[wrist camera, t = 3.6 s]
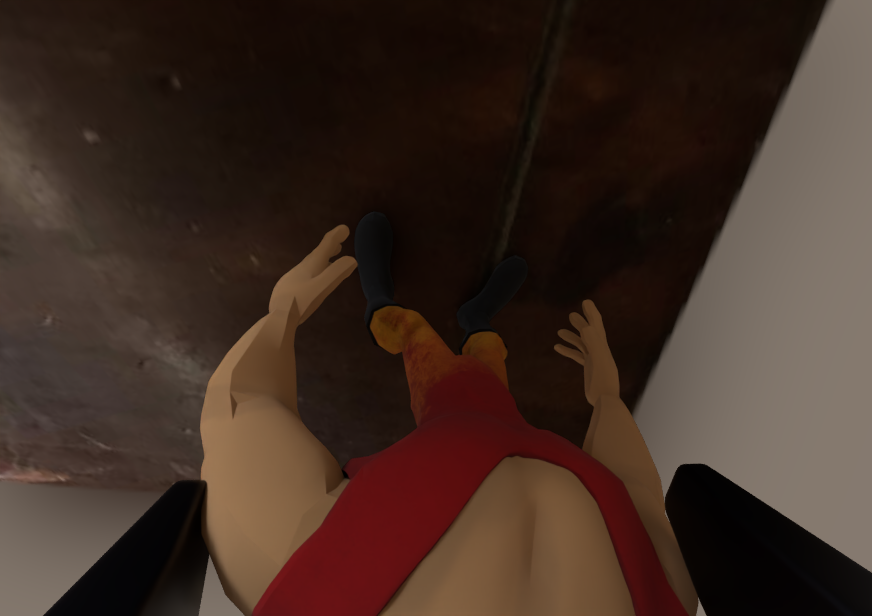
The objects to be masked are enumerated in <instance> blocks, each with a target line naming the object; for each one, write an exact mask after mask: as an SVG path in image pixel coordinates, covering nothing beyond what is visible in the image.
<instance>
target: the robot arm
mask: <svg viewBox="0 0 872 616" xmlns="http://www.w3.org/2000/svg"><path fill="white" fill-rule="evenodd" d="M205 489H206V481H205V480H181V481H178V482H176V483H175V484H174V485H172V486H171V487H170V488H169V489H168V490H167V491H166V492H165V493H164V494H163V495H162V496H161V497H160V499H159V500H158V501H157V502H156V503H155V504H154V505H153V506H152V507H151V508H150V509H149V510H148V511H147V512H146V513H145V514H144V515H143V516H142V517H141V518H140V519H139V520H138V521H137V522H136V523H135V524H134V525H133V526H132V527H131V528H130V529H129V530H128V531H127V532H126V533H125V534H124V535H123V536H122V537H121V538H120V539H119V540H118V541H117V542H116V543H115V544H114V545H113V546H112V547H111V548H110V549H109V550H108V551H107V552H106V553H105V554H104V555H103V556H102V557H101V558H100V559H99V560H98V561H97V562H96V563H95V564H94V565H93V566H92V567H91V568H90V569H89V570H88V571H87V572H86V573H85V574H84V575H83V576H82V577H81V578H80V579H79V580H78V581H77V582H76V583H75V584H74V585H73V586H72V587H71V588H70V589H69V590H68V591H67V592H66V593H65V594H64V595H63V596H62V597H61V598H60V599H59V600H58V601H57V602H56V603H55V604H54V605H53V606H52V607H51V608H50V609H49V610H48V611H47V612H46V613H45V614H44V615H43V616H198V615H199V609H200V604H201V598H202V592H203V587H204V581H205V575H206V570H207V564H208V559H209V552H208V549H207V547H206V544H205V542H204V539H203V537H202V534H201V507H202V503H203V498H204V493H205ZM665 510H666V513H667V516H668V518H669V521H670V524H671V527H672V529H673V532H674V535H675V537H676V540H677V543H678V545H679V548H680V551H681V553H682V556H683V559H684V561H685V564H686V567H687V569H688V572H689V575H690V577H691V580H692V583H693V585H694V588H695V590H696V593H697V595H698V598H699V600H700V602H701V605H702V607H703V609H704V611H705V613H706V615H707V616H872V573H871V572H870V571H868V570H867V569H865V568H864V567H862V566H861V565H859V564H857V563H856V562H854V561H853V560H851V559H850V558H848V557H847V556H845V555H844V554H842V553H841V552H839V551H838V550H836V549H835V548H833V547H831V546H830V545H828V544H827V543H825V542H824V541H822V540H821V539H819V538H817V537H816V536H815V535H813V534H811V533H810V532H808V531H807V530H805V529H804V528H802V527H801V526H799V525H798V524H796V523H795V522H793V521H792V520H790V519H789V518H787V517H785V516H784V515H782V514H781V513H779V512H778V511H776V510H775V509H773V508H772V507H770V506H769V505H767V504H766V503H764V502H762V501H761V500H759V499H758V498H756V497H755V496H753V495H752V494H750V493H749V492H747V491H746V490H744V489H742V488H741V487H739V486H738V485H736V484H735V483H733V482H732V481H730V480H729V479H727V478H726V477H724V476H723V475H721V474H719V473H718V472H717V471H715V470H713V469H712V468H710V467H709V466H707V465H705V464H683V465H680V466H679V467H678V468H677V470H676V472H675V475H674V477H673V479H672V482H671V484H670V487H669V489H668V492H667V494H666V497H665Z"/></svg>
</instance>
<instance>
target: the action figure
mask: <svg viewBox="0 0 872 616" xmlns="http://www.w3.org/2000/svg"><path fill="white" fill-rule="evenodd" d="M349 234H350V233H349V228H348V227H347V226H345V225H339V226H337V227H336V228H334V229H333V230H331V231H330V232H328V233H326V234H325V236H324V238H323V240H322V241H321V243H320V244H319V246H318V247H317V248H315V249H314V250H313V251H312V252H311V254H309V255H308V256H306V257H305V258H304V259H303V261H302V262H301V263H299V264H298V265H297V266H296V267H294V268H293V269H292V270H290V271H289V272H288V273H286V274H285V275H284V276H283V277H282V278H281V279H280V280H279V281H278V282H277V284H276V286H275V288H274V289H273V292H272V296H271V300H270V303H269V314H268V315H266V316H265V317H263V318H262V319H260V320H259V321H258V322H257V323H256V324H255V325H254V326H252V327H251V328H250V329H249V330H248V331H247V332H246V333H245V334H244V335H243V336H242V337H241V338H240V340H239V341H238V342H237V343H236V344H235V345H234V346H233V347H232V348H231V349H230V351H229V352H228V353H227V354H226V356H225V357H224V359H223V360H222V362H221V363H220V365H219V366H218V368H217V369H216V371H215V372H214V374H213V375H212V377H211V378H210V380H209V382H208V387H207V391H206V396H205V400H204V405H203V410H202V414H201V424H200V431H201V437H202V443H203V449H204V455H205V458H204V461H203V464H202V467H201V480H205V481H206V489H205V493H204V498H203V503H202V507H201V534H202V537H203V539H204V542H205V544H206V547H207V549H208V552H209V554H210V557H211V559H212V562H213V564H214V567H215V569H216V572H217V574H218V577H219V579H220V582H221V584H222V587H223V590H224V592H225V595H226V596H227V597H228V598H229V599H230V600H231V601H232V602H233V603H234V604H235V606H236V607H237V608H238V609H239V610H240V611H241V612H242V613H243V614H244V615H245V616H696V613H697V607H698V595H697V593H696V590H695V588H694V585H693V583H692V580H691V577H690V575H689V572H688V569H687V567H686V564H685V561H684V559H683V556H682V553H681V551H680V548H679V545H678V543H677V540H676V537H675V535H674V532H673V529H672V527H671V524H670V522H669V521H668V519H667V517H666V515H665V503H664V497H663V491H662V486H661V480H660V477H659V474H658V472H657V469H656V467H655V464H654V462H653V460H652V458H651V455H650V453H649V451H648V448H647V446H646V444H645V441H644V439H643V437H642V435H641V433H640V431H639V429H638V427H637V425H636V423H635V421H634V419H633V417H632V416H631V414H630V412H629V410H628V409H627V407H626V405H625V404H624V403H623V402H622V400H621V399H620V398H619V378H618V370H617V367H616V364H615V362H614V360H613V357H612V355H611V352H610V349H609V347H608V344H607V341H606V333H605V330H604V327H603V323H602V317H601V315H600V313H599V312H598V310H597V309H596V307H595V305H594V303H593V302H592V301H591V300H589V299H588V300H584V301H583V303H582V308H583V312H584V314H585V316H586V317H587V320H588V322H589V324H588V323H587V322H586V321H585V320H584V318H583V317H582V316H581V315H579V314H578V313H571V314H570V315H569V320H570V322H571V324H572V325H573V326H574V327H575V328H576V329H577V330H578V331H580V335H581V338H580V337H579V336H577V335H576V334H574V333H573V332H571V331H569V330H566V329H561V330H559V331H558V335H559V336H560V337H561V338H563V339H564V340H565V341H567V342H569V343H571V344H573V345H575V346H577V347H578V348H579V349H580V350H581V351H582V353H583V354H582V353H581V352H579V351H577V350H574V349H571V348H568V347H565V346H563V345H561V344H556V345H555V346H554V349H555V350H556V351H557V352H559V353H560V354H562V355H564V356H567V357H570V358H572V359H574V360H575V361H577V362H578V363H580V364H582V365H583V366H584V379H585V395H586V398H587V400H588V402H589V403H590V404H591V405H593V406H594V410H593V414H592V418H591V422H590V425H589V428H588V432H587V435H586V438H585V441H584V444H583V448H582V449H580V448H579V447H577V446H576V445H574V444H573V443H571V442H570V441H568V440H567V439H565V438H563V437H561V436H559V435H557V434H555V433H553V432H551V431H549V430H542V429H537V428H535V427H533V426H531V425H530V424H528V423H527V422H526V421H525V419H524V418H523V417H522V415H521V414H520V413H519V411H518V409H517V406H516V403H515V400H514V398H513V397H512V395H511V394H510V392H509V387H508V380H507V374H506V367H505V363H504V360H505V358H506V356H507V350H506V349H507V346H506V344H505V342H504V341H503V339H502V338H501V336H500V335H499V333H498V332H497V331H496V330H495V329H494V328H492V327H491V326H490V324H489V321H490V320H491V319H492V317H493V316H494V315H495V314H496V313H498V312H499V311H500V310H501V309H502V308H503V307H504V306H505V305H506V304H507V303H508V302H509V301H510V300H511V299H512V297H513V296H514V295H515V294H516V292H517V291H518V290H519V288H520V287H521V285H522V284H523V283H524V281H525V279H526V277H527V273H528V266H527V263H526V261H525V260H524V258H521V257H518V256H516V255H514V256H512V257H509V258H507V259H505V260H504V261H502V262H501V263H500V264H498V265H497V267H496V268H495V270H494V271H493V273H492V275H491V277H490V279H489V281H488V283H487V284H486V286H485V287H484V289H483V290H482V291H481V293H480V294H479V295H477V296H476V297H475V298H474V299H472V300H470V301H468V302H466V303H465V304H464V305H462V306H461V307H460V309H459V310H458V312H457V319H458V322H459V325H460V327H461V328H463V329H465V330H466V334H465V337H464V339H463V341H462V343H461V345H460V348H459V353H460V355H456V356H455V354H454V353H453V352H452V351H451V350H450V349H449V348H448V347H447V345H446V344H445V343H444V341H443V340H442V339H441V338H440V336H439V335H438V334H437V333H436V332H435V330H434V329H433V328H432V327H431V326H430V325H429V323H428V322H427V321H426V320H425V319H424V318H423V317H422V316H421V315H420V314H419V313H418V312H416V311H413V310H409V309H407V308H405V307H403V306H401V305H400V304H398V303H396V302H394V301H393V297H394V290H395V289H394V282H393V280H392V277H391V273H390V258H391V252H392V247H393V232H392V229H391V225H390V223H389V221H388V219H387V218H386V216H385V214H382V213H378V212H374V211H373V212H371V213H369V214H367V215H365V216H364V217H363V219H362V220H361V221H360V222H359V224H358V226H357V229H356V231H355V240H354V245H355V255H356V259H357V261H356V260H355V259H354V258H353V257H349V256H343V257H342V258H340V259H338V260H336V261H335V262H334V263H330V262H328V261H329V259H330V257H333V256H335V255H337V254H338V253H340V252H341V247H342V246H341V245H340V243H342V242H343V241H345V240H346V238H347V237H348V235H349ZM357 266H358V271H359V275H360V280H361V285H362V289H363V292H364V294H365V297H366V299H367V301H368V305H367V309H366V313H365V317H364V318H365V322H366V327H367V329H368V332H369V334H370V336H371V338H372V341H373V343H374V345H376V346H379V347H381V348H383V349H385V350H387V351H389V352H390V353H392V354H397V353H399V352H402V354H403V359H404V364H405V370H406V375H407V380H408V384H409V389H410V393H411V409H412V411H413V414H414V417H415V420H416V423H417V428H416V429H415V430H414V431H412V432H411V433H410V434H408V435H407V436H405V437H404V438H403V439H401V440H399V441H398V442H396V443H394V444H393V445H391V446H389V447H388V448H386V449H384V450H383V451H380V452H378V453H375V454H373V455H370V456H367V457H359V458H352V459H350V460H349V461H348V462H347V463H346V464H345V465H344V466H343V468H342V469H341V468H340V466H339V464H338V462H337V460H336V459H335V458H334V457H333V456H332V454H331V453H330V452H329V451H328V450H327V448H326V447H325V446H324V445H323V444H322V443H321V442H320V441H319V440H318V439H317V438H316V437H315V436H314V435H313V434H312V433H311V432H310V431H309V430H308V428H307V427H306V426H305V425H304V424H303V423H302V420H301V418H300V415H299V412H298V410H297V382H296V363H295V353H294V337H295V331H296V328H297V326H298V325H300V324H302V323H303V322H304V321H305V320H306V319H307V318H308V317H309V316H310V315H311V314H312V313H313V312H314V311H315V310H316V309H317V308H318V307H319V306H320V305H321V303H322V302H323V301H324V299H325V298H326V296H327V295H329V294H330V293H331V292H332V291H333V290H334V289H335V288H336V287H337V286H338V285H339V284H340V283H341V282H342V280H343V279H345V278H347V277H349V276H350V274H351V273H352V272H353V271H354V269H355V268H356V267H357Z"/></svg>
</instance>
